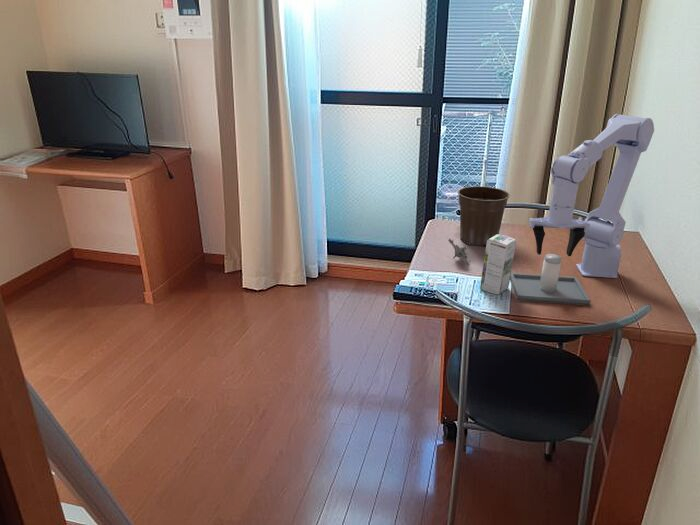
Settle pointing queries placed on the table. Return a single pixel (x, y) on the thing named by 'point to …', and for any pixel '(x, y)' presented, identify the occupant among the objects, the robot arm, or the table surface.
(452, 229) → the table surface
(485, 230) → the plant pot
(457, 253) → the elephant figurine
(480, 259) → the table surface
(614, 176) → the robot arm
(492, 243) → the syrup box
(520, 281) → the tray
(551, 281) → the block
